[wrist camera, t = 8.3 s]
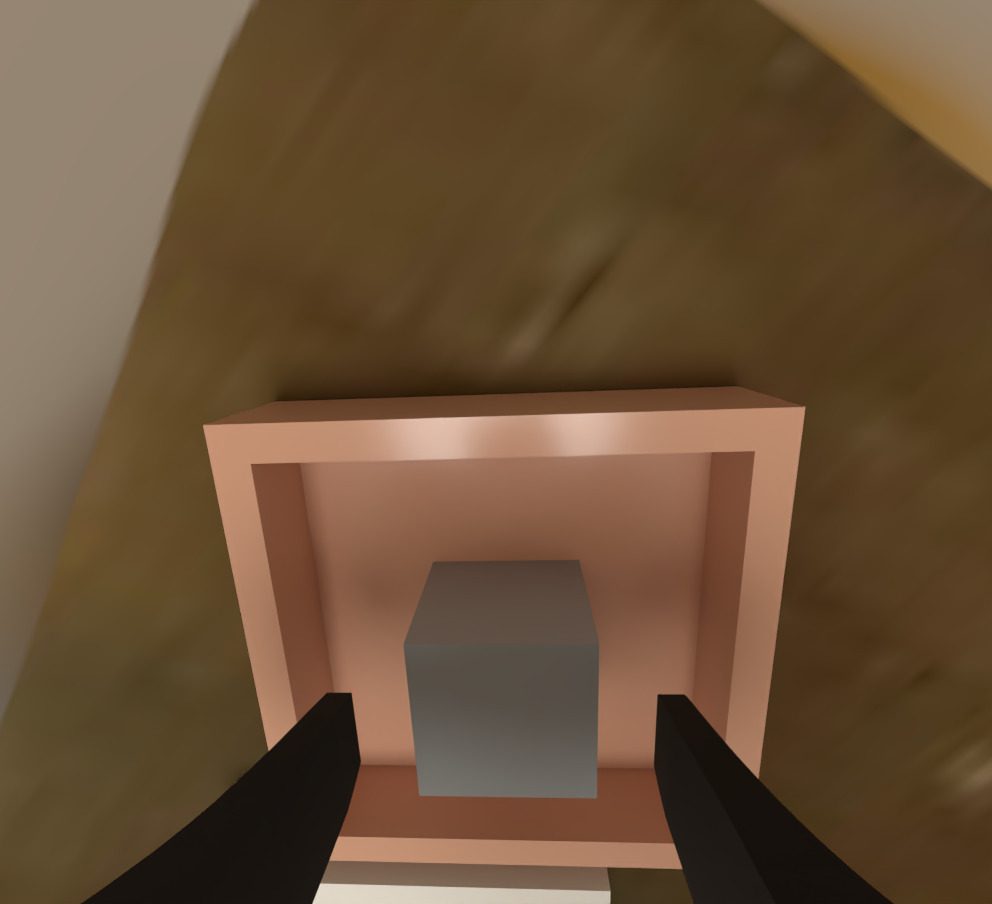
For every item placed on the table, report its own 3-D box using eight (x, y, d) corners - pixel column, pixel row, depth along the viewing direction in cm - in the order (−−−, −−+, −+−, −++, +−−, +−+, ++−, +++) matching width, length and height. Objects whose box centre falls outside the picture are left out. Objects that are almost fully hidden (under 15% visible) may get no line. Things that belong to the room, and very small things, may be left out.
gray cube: (579, 559, 15) (598, 643, 11) (578, 683, 16) (596, 798, 12) (433, 561, 15) (403, 644, 11) (443, 683, 16) (419, 796, 12)
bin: (737, 386, 14) (805, 406, 11) (704, 766, 18) (746, 870, 15) (274, 401, 15) (203, 425, 12) (331, 762, 19) (290, 859, 15)
